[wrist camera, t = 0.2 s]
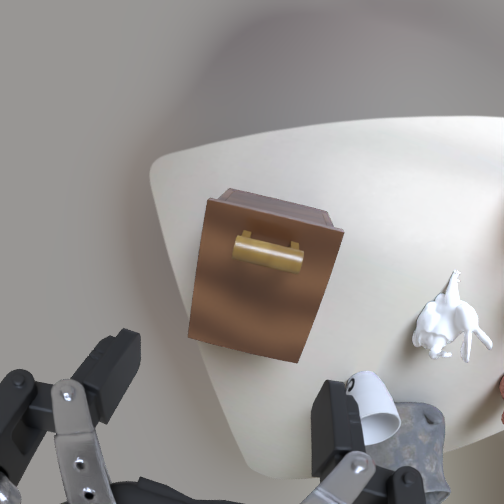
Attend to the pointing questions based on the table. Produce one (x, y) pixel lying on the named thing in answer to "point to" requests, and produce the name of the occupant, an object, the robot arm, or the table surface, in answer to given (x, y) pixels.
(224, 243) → the lid
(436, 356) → the rabbit figurine
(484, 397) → the table surface
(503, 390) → the decorative flower
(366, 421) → the cup
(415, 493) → the robot arm
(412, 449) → the vessel
